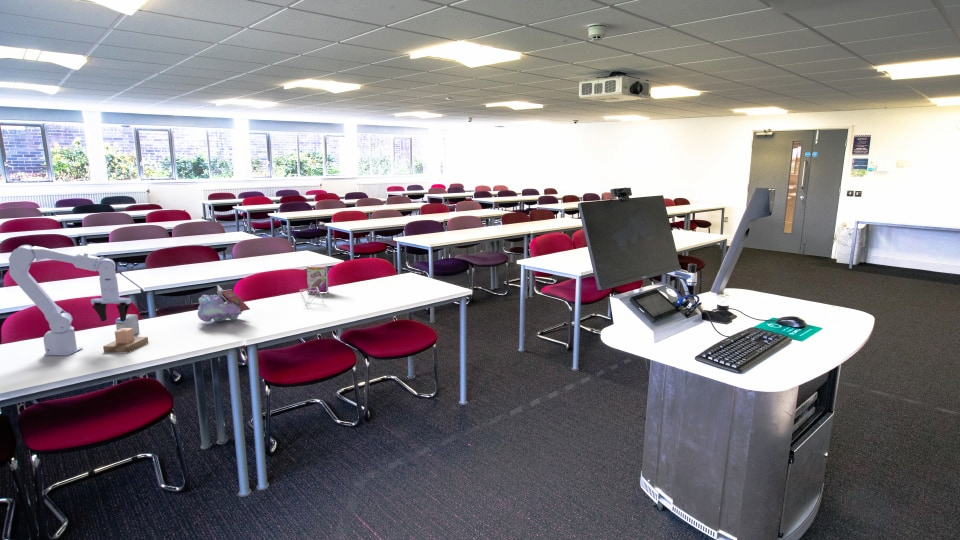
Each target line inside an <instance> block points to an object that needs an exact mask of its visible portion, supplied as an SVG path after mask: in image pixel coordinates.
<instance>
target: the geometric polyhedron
mask: <svg viewBox="0 0 960 540" xmlns="http://www.w3.org/2000/svg"><path fill="white" fill-rule="evenodd" d="M313 288H315V287H313ZM308 289H310V288H308V287H307V288H306V289H305V288H303V289H301V290H299V292H300V295H301V297H302V300H303V303H304V305H305V307H307V308H308V307H310V304H312V303H313V300H314V299H315V297H316V296H317V295H319V297H320V298H321V300H322V304H324V303H325V301H324V299H323V296H322V294H320V291H318V292H319V294H317V293H318V292H317V293H316V294H314V296H313V294H310V297H309V298H308V300H306V299H305V296H304V295H303V292H302V291H304V292H305V291H306V292H308V291H311V290H308ZM317 289H318V287H317ZM315 290H316V289H315ZM318 290H319V289H318ZM313 293H314V292H313ZM312 296H313V298H312V299H311V297H312ZM310 299H311V301H310V302H309V300H310ZM306 303H308V304H307V306H306Z"/></svg>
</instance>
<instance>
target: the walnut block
mask: <svg viewBox="0 0 960 540" xmlns="http://www.w3.org/2000/svg"><path fill="white" fill-rule="evenodd" d="M134 339H135V340H133V341H131V342H129V343H116V340H114V341H112V342H109V343H108V344H106V345H103V347H102V348H103V353H118V352H129V353H131V352H132V350H133V351H135V350H137V349H139V348H141V347H143V346H145V345H147V344H149V337H148V336H134ZM146 343H147V344H146ZM144 344H145V345H144ZM142 345H143V346H142ZM140 346H141V347H140ZM138 347H139V348H138ZM136 348H137V349H136ZM134 349H135V350H134ZM130 351H131V352H130Z"/></svg>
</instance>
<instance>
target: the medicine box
mask: <svg viewBox="0 0 960 540" xmlns="http://www.w3.org/2000/svg"><path fill="white" fill-rule="evenodd" d="M114 320H115V321H114V322H115V328H116V331H117V330H119V329H121V328H133V331H134V336H135V335H137V333H138V334H139V333H140V326H139V325H140V324H139V316H138V314H133V313H132V314H129V313H127V315H126V320H124V321H121V319H120V317H118V318H116V319H114Z"/></svg>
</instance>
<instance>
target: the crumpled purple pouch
mask: <svg viewBox="0 0 960 540" xmlns="http://www.w3.org/2000/svg"><path fill="white" fill-rule="evenodd" d="M216 287H217V291H216V293H217V294H210V295H208V294H202V295H201V296H200V297H199V298H198V304H199V306H198V307H197V310H198V311H197V316H198V319H200V320H201V321H202V322H206V323H209V322H211V321H212V320H213V321H215V322H217V323H220V322H223V321H225V320H227V319H229V320H231V321H235V320H237V319H238V318H239V316H240V315H242V313H243V312H245V311H248V310H249V311H250V310H251V309H250V307H249V306H248V305H247V304H246V303H245V302H244V301H243V300H242V299H241V298H240V297H239V296H238V294H236V292H235V291H234V290H233V289H226V290H225V289H223V288H222V287H221V286H220V285H219V284H216Z"/></svg>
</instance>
